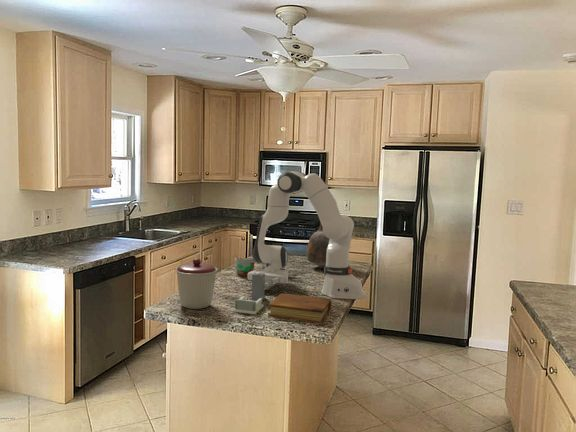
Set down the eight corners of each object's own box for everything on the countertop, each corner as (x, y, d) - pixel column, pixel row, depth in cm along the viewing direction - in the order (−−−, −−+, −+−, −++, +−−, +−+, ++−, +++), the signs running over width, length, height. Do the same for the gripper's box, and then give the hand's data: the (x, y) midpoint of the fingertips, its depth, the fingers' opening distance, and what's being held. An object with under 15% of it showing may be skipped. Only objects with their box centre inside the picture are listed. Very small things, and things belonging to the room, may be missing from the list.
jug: (348, 268, 294) (351, 220, 290) (332, 274, 276) (335, 223, 272) (314, 262, 307) (316, 217, 303) (297, 268, 289) (299, 219, 285)
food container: (230, 275, 264) (231, 258, 263) (235, 273, 269) (236, 256, 268) (250, 278, 259) (250, 260, 258) (255, 276, 265) (255, 258, 264)
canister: (208, 314, 196) (209, 264, 194) (167, 310, 199) (168, 261, 197) (222, 301, 214) (223, 256, 211) (184, 298, 217) (185, 253, 214)
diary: (330, 311, 208) (331, 298, 208) (322, 324, 191) (322, 310, 190) (281, 304, 215) (281, 292, 214) (268, 316, 197) (268, 303, 196)
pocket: (263, 306, 209) (263, 295, 208) (255, 314, 198) (255, 302, 198) (242, 304, 211) (242, 293, 211) (233, 311, 201) (233, 300, 200)
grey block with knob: (264, 298, 222) (265, 271, 221) (260, 301, 217) (261, 273, 216) (254, 297, 223) (255, 270, 222) (251, 299, 218) (252, 273, 217)
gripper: (252, 266, 243) (243, 272, 229) (290, 270, 238) (283, 276, 224) (252, 278, 243) (242, 284, 230) (290, 282, 238) (283, 289, 225)
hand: (263, 280), depth 227 cm, fingers open, 8 cm apart
